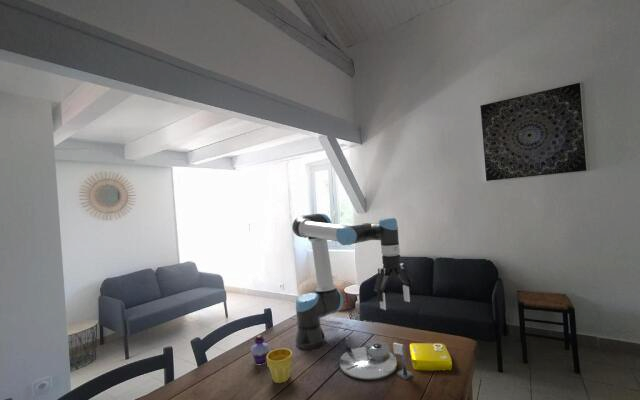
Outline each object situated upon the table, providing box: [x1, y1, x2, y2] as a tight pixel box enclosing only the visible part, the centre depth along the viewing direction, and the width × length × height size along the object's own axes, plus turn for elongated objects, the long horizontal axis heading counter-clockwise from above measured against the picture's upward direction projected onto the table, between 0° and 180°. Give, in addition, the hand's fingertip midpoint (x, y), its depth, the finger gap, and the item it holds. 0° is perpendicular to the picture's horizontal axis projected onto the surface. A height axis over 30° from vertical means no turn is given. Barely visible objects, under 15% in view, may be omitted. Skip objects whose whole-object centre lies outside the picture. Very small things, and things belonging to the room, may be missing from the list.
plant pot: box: [266, 347, 293, 384], centre depth 119 cm, size 10×10×10 cm
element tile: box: [409, 342, 453, 372], centre depth 123 cm, size 15×15×5 cm
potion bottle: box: [249, 334, 270, 365], centre depth 134 cm, size 9×9×12 cm
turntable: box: [338, 336, 398, 381], centre depth 125 cm, size 27×24×6 cm
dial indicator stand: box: [392, 342, 414, 381], centre depth 115 cm, size 5×4×12 cm
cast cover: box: [365, 340, 391, 362], centre depth 127 cm, size 10×10×4 cm
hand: (395, 305), depth 124 cm, fingers open, 13 cm apart
